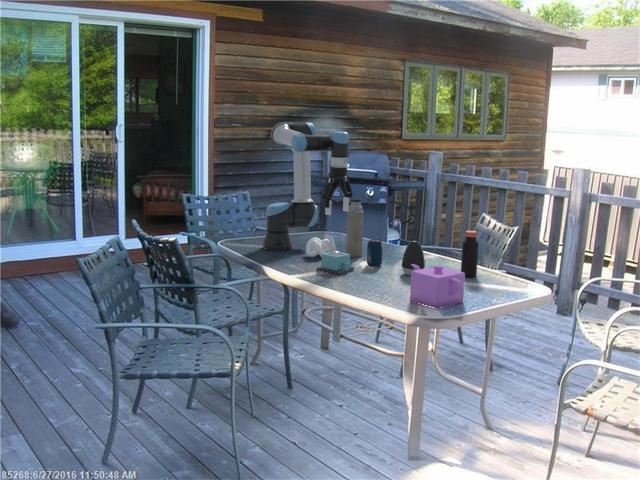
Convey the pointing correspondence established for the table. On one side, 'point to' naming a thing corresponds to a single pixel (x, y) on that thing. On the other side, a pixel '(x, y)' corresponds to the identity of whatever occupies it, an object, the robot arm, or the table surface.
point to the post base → (335, 253)
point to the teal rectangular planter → (336, 261)
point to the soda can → (374, 253)
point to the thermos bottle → (354, 229)
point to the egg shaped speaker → (413, 257)
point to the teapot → (436, 286)
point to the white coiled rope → (317, 247)
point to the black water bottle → (470, 254)
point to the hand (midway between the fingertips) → (337, 213)
